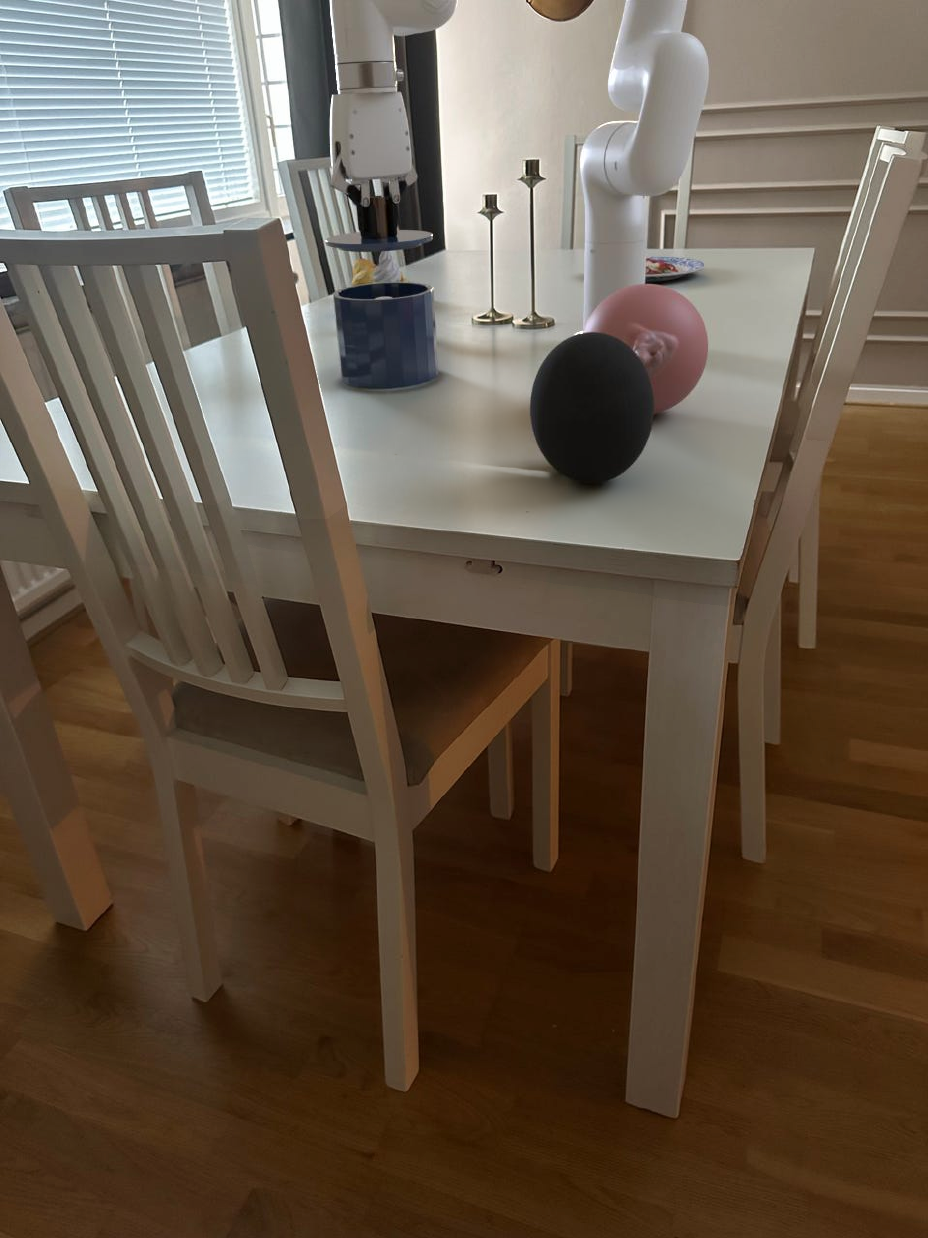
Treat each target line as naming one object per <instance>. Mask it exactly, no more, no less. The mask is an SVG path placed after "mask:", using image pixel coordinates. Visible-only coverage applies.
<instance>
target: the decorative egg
mask: <svg viewBox="0 0 928 1238" xmlns="http://www.w3.org/2000/svg"><path fill="white" fill-rule="evenodd" d="M529 400H530V401H529V416H530V418H529V419H530V425H531V430H532V433H533V437H534V439H535V443H536V444H537V447H538V449H539V451H540V452H541V454H542V455H543V457H544V458H545V460H546V461H547V463H548V464H549V465H550V466H551V467H552V468H553V469H554V470H555V471H556V472H557V473H559V474H560V475H562V476H563V477H565V478H567V479H570V480H571V481H575V482H577V483H583V484H600V483H605V482H608V481H611V480H613V479H615V478H617V477H619V476H621V475H623V474H624V473H625V472H626V471H627V470H629V469H630V468H631V467H632V466H633V465H634V464H635V463H636V461H637V460H639V458H640V456H641V455H642V453H643V451H644V450H645V447H646V446H647V443H648V441H649V438H650V435H651V433H652V429H653V424H654V417H655V414H654V396H653V390H652V385H651V382H650V378H649V376H648V373H647V371H646V368H645V366H644V365H643V363H642V361H641V360H640V358H639V357H638V356H637V354H636V353H635V352H634V351H633V350H632V349H631V348H630V347H629V346H628V345H627V344H625V343H624V342H623V341H621V340H620V339H618V338H616V337H614V336H611V335H608V334H604V333H600V332H586V333H581V334H577V335H575V334H573V335H572V336H569V337H567V338H566V339H564V340H562V341H561V342H560V343H558V344H557V345H556V346H555V347H554V348H552V350H551V351H550V352H549V353H548V354H547V356H546V357H545V358H544V359H543V361H542V363H541V364H540V367H539V368H538V370H537V372H536V374H535V378H534V380H533V384H532V388H531V393H530V399H529Z"/></svg>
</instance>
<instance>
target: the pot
mask: <svg viewBox="0 0 928 1238" xmlns="http://www.w3.org/2000/svg"><path fill="white" fill-rule="evenodd" d="M434 292H435V291H434V287H433V286H432V285H431V284H427V283H421V282H412V281H411V282H410V281H409V282H383V283H371V284H363V285H356V286H351V285H350V286H347V287H343V288H340V289H337V290H335V291H334V292H332V300H333V310H334V318H335V328H336V337H337V348H338V356H339V365H340V375H341V381H342V383H344V384H346V385H347V386H350V387H354V388H358V389H367V390H368V389H370V390H391V389H400V388H407V387H413V386H418V385H422V384H425V383H428V382H430V381H432V380H434V379H435V378H437V376H438V375H439V364H438V363H439V362H438V346H437V344H438V343H437V329H436V312H435V310H436V309H435V308H436V307H435V293H434ZM378 297H392V298H389V299H376V298H378Z"/></svg>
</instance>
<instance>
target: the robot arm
mask: <svg viewBox="0 0 928 1238" xmlns="http://www.w3.org/2000/svg"><path fill="white" fill-rule="evenodd" d="M458 2H459V0H329V9H330V20H331V29H332V30H331V32H332V41H333V54H334V64H335V73H336V84H337V93H338V94H331V102H330V116H329V144H330V145H329V147H330V148H329V149H330V163H331V171H332V173H331V177H330V181H329V185H330V187H331V188H332V189H335V190H336V191H339V192H341V193H343V194H344V195H345V196H346V197H347V198H348V199H349V200H350V201H351V203H352V205H353V206H355V208H356V216H357V217H356V218H357V219H356V220H357V229H358V232H360V234H361V237H362V238H369V239H374V238H375V237H376V225H375V212H374V207H373V206H370V196H371V194H370V192H371V191H370V180H371V181H372V180H379V183H380V191H381V196H386V206H387V220H388V233H389V236H397V230H398V227H399V218H398V217H399V216H398V205H397V204H399V203H400V201H401V197H402V195H403V194H404V192H405V191H406V189H407V187H409V186H411V185H412V184H413V183H414V182H416V181H417V180H418V174H417V171H416V169H415V167H414V165H413V162H412V159H413V158H412V146H411V145H412V144H411V136H410V129H409V122H408V116H407V111H406V107H405V102H404V98H403V94H402V92H401V91H398V86H399V85H398V83H399V82H402V81H404V77H405V74H404V71H403V69H399V68H397V63H396V52H395V51H396V50H395V39H394V36H396V37H405V36H406V37H407V36H410V35H415V34H422V33H428V32H431V31H435V30H437V29H440V28H441V27H443V26H444V25H445V24H447V23H448V22H449V21H450V19H451V18H452V17H453V15H454V14H455V12H456V9H457V7H458ZM624 3H625V4H624V8H623V14H622V18H621V23H620V27H619V30H618V35H617V39H616V43H615V47H614V52H613V56H612V60H611V63H610V68H609V71H608V79H607V92H608V96H609V99H610V102H612V104H613V105H614V107H616V108H617V109H619V110H620V111H623V112H628V113H632V114H633V113H635V114H639V116H638V120H618V121H610V122H606V123H604V124H602V125H600V126H597V127H596V128H594V130H593V131H591V132H590V133H589V134H588V136H587V138H585V141H584V143H583V145H582V148H581V151H580V158H579V172H580V180H581V188H582V193H583V194H582V195H583V202H584V205H583V206H584V254H583V255H584V256H583V257H584V265H583V312H582V314H583V317H582V318H583V319H582V330H581V331H579V332H576V333H575V334H574V335H577V334H581V333H582V332H583V329H584V327H585V324H586V322H587V320H588V319H589V317H590V315H591V314H592V312H593V311H594V310H595V309H596V307H597V306H598V305H599V304H600V303H601V302H602V301H603V300H605V299H606V298H607V297H609V296H610V295H612V294H613V293H615V292H617V291H619V290H621V289H623V288H626V287H629V286H633V285H638V284H646V282H645V273H646V257H647V253H648V251H647V250H648V237H649V236H648V232H649V221H648V210H647V206H646V201H645V198H644V197H658V196H661V195H664V194H666V193H668V192H669V191H671V190H672V189H673V188H674V187H675V186H676V184H678V182H679V181H680V180H681V177H682V176H683V173H684V171H685V168H686V166H687V163H688V160H689V157H690V154H691V150H692V147H693V143H694V140H695V136H696V133H697V129H698V126H699V121H700V118H701V114H702V110H703V107H704V105H705V101H706V96H707V92H708V87H709V81H710V65H709V59H708V53H707V51H706V49H705V47H704V45H703V43H702V42H701V41H700V40H699V39H698V38H697V37H696V36H694V34H691V33H688V32H684V31H682V29H683V24H684V20H685V15H686V11H687V5H688V0H625V2H624ZM347 180H350V183H349V182H348V181H347Z"/></svg>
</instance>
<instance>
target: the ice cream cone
mask: <svg viewBox="0 0 928 1238" xmlns="http://www.w3.org/2000/svg"><path fill="white" fill-rule="evenodd" d="M400 270H401V269H400V267H399V266H398V265H397V263H395V258H394V256H393V255H392V254H391V251H381V252H380V255H379V257H378V264H377V267H376V268H375V272H374V273H373V277H374V278H375V280H374V283H383V282H400V280H401V271H402V270H401V271H400Z"/></svg>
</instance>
